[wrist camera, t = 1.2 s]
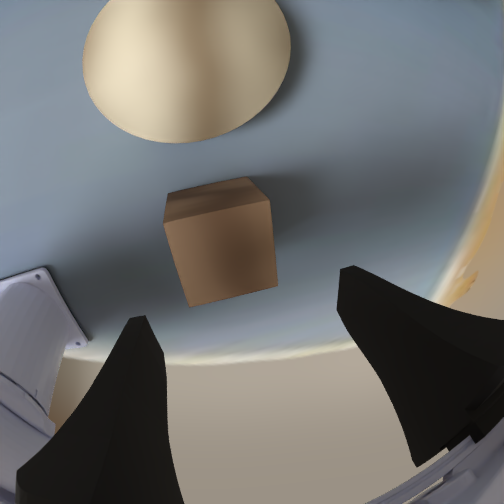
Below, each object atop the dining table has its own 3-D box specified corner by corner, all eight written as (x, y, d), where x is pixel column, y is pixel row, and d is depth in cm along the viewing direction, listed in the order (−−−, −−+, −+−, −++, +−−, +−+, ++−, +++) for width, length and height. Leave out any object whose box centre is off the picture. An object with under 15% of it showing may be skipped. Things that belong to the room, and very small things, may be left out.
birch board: (112, 159, 14) (101, 167, 12) (90, 6, 9) (78, -6, 7) (285, 123, 16) (301, 126, 14) (263, -23, 10) (275, -38, 8)
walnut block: (185, 261, 19) (189, 307, 14) (167, 193, 16) (163, 223, 12) (255, 245, 19) (278, 285, 15) (246, 176, 17) (269, 199, 13)
